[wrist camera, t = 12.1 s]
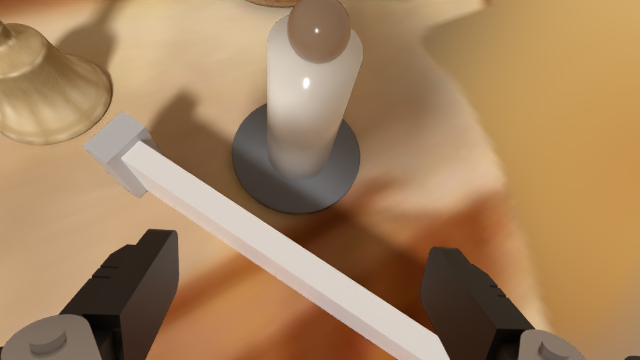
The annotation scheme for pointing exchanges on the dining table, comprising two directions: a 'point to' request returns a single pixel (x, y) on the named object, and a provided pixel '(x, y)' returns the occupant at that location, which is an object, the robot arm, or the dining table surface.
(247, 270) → the dining table surface
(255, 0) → the brown clay vessel
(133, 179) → the rail
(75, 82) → the hand bell
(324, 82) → the shaker
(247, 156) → the coaster
